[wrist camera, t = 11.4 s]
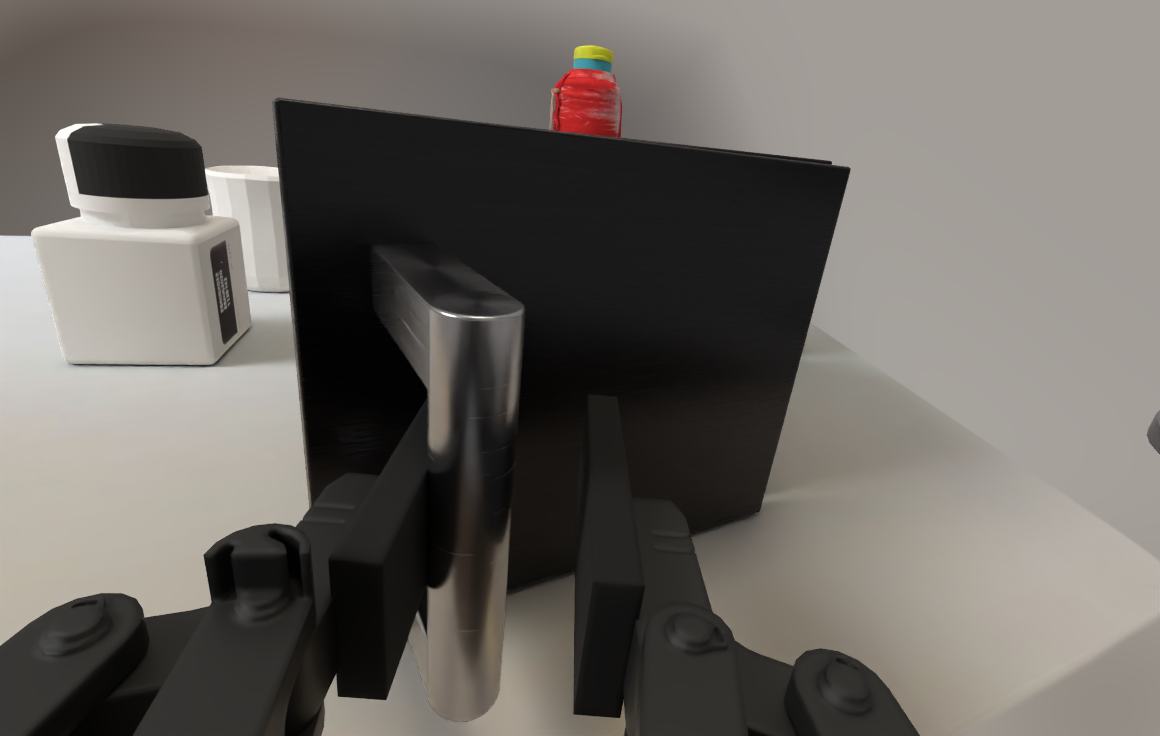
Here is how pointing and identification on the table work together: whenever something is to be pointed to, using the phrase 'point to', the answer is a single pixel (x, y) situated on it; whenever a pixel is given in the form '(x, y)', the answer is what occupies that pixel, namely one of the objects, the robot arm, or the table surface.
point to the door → (538, 334)
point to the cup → (254, 220)
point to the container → (141, 252)
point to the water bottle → (588, 96)
